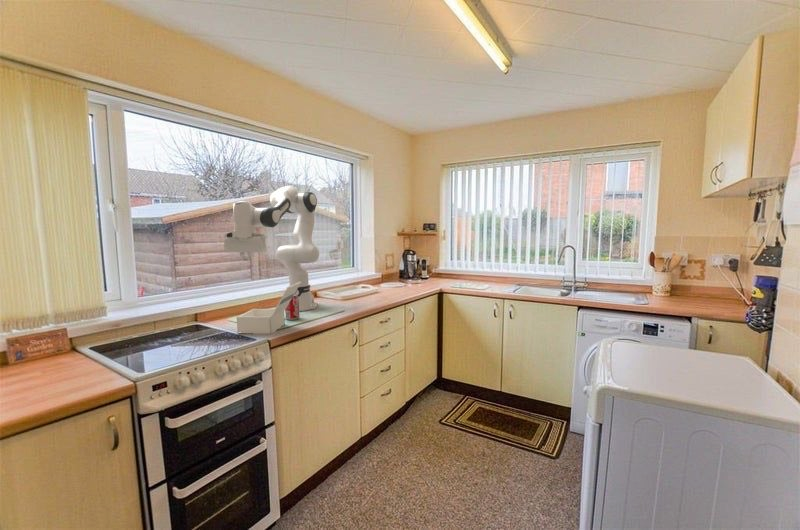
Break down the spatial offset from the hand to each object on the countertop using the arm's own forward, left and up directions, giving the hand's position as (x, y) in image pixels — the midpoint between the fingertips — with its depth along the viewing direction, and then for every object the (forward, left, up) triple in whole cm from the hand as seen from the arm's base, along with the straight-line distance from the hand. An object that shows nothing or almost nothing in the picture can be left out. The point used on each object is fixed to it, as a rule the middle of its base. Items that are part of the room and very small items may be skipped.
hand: (246, 261), depth 174 cm
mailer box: (+8, +10, -32) cm, 35 cm away
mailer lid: (+8, +23, -17) cm, 30 cm away
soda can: (-11, +18, -33) cm, 39 cm away
